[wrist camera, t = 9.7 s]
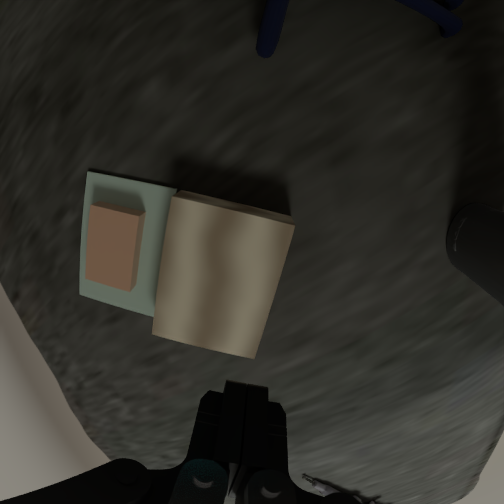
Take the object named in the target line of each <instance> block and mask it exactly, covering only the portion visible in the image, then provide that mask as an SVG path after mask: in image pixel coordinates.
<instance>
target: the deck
mask: <svg viewBox="0 0 504 504" xmlns="http://www.w3.org/2000/svg"><path fill="white" fill-rule="evenodd" d="M294 228H295V224H294V222H293V219H292V217H291V216H288V215H284V214H280V213H276V212H272V211H268V210H264V209H260V208H256V207H252V206H248V205H244V204H240V203H236V202H231V201H227V200H223V199H219V198H214V197H210V196H206V195H201V194H197V193H192V192H188V191H183V190H181V191H179V192H178V193H176V194H175V195H173V196H172V198H171V204H170V209H169V215H168V221H167V226H166V232H165V239H164V245H163V251H162V258H161V265H160V272H159V279H158V287H157V294H156V303H155V311H154V320H153V330H152V334H153V335H156V336H160V337H163V338H167V339H171V340H175V341H178V342H182V343H186V344H190V345H194V346H198V347H202V348H207V349H211V350H215V351H220V352H224V353H228V354H233V355H238V356H242V357H247V358H252V359H254V358H255V355H256V352H257V349H258V346H259V343H260V340H261V336H262V333H263V330H264V327H265V324H266V321H267V317H268V314H269V311H270V308H271V305H272V301H273V298H274V295H275V292H276V289H277V285H278V282H279V279H280V275H281V272H282V269H283V265H284V262H285V259H286V255H287V252H288V249H289V245H290V242H291V238H292V235H293V232H294Z"/></svg>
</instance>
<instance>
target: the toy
mask: <svg viewBox="0 0 504 504" xmlns="http://www.w3.org/2000/svg"><path fill="white" fill-rule="evenodd" d="M396 1H398V2H400V3H402V4H404V5H406V6H408V7H410V8H412V9H414V10H416V11H417V12H419V13H421V14H423V15H425V16H427V17H428V18H430V19H431V20H433V21H434V22H436V23H437V24H439V25H440V26H442V28H441V36H442V37H444V38H448V37H450V36H453V35H455V34H456V33H457V32H459V31H460V29H461V27H462V25H463V23H462V20H461V18H459V17H458V16H456V15H455V14H453V13H452V12H450V11H451V10H453V9H456V8H457V7H458V6H460V5H461V4H462V2H463V1H464V0H445V2H444V7H442V6H441V5H439V4H438V3H436V2H434V1H433V0H396ZM288 3H289V0H267V2H266V6H265V10H264V13H263V17H262V21H261V25H260V29H259V32H258V38H257V44H256V50H257V53H258V55H259V56H261V57H263V58H268V57H270V56H271V55H272V54H273V53H274V51H275V48H276V46H277V43H278V41H279V37H280V33H281V30H282V26H283V22H284V18H285V14H286V11H287V7H288Z"/></svg>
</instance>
